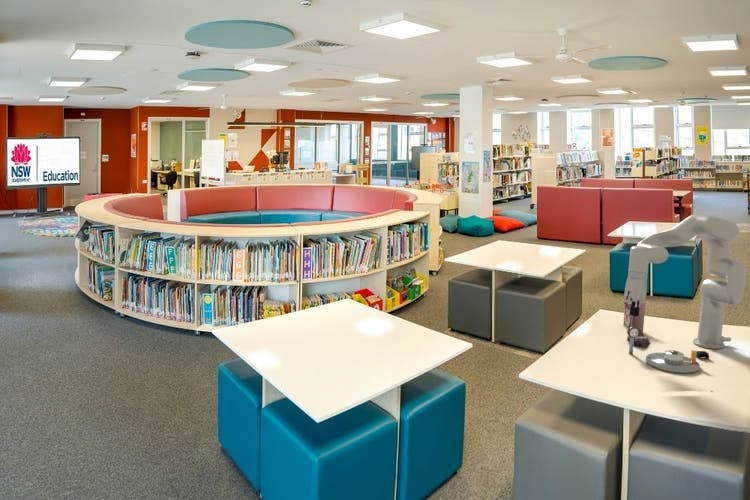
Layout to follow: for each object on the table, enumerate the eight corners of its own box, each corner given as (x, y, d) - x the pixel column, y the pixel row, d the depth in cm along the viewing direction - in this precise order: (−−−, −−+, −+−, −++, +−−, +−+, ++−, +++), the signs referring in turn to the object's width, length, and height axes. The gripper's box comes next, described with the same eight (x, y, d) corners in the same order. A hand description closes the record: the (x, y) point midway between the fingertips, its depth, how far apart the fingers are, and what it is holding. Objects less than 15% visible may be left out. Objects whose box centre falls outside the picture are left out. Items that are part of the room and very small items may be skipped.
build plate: (690, 364, 235) (691, 354, 235) (682, 358, 242) (683, 348, 242) (720, 365, 234) (722, 355, 234) (711, 359, 242) (712, 349, 241)
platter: (639, 354, 242) (641, 340, 241) (688, 357, 239) (690, 343, 237) (654, 372, 223) (655, 356, 221) (707, 375, 219) (709, 360, 218)
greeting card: (621, 325, 287) (623, 298, 284) (636, 326, 286) (638, 298, 283) (629, 332, 275) (631, 304, 273) (644, 333, 275) (647, 304, 272)
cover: (661, 358, 233) (662, 348, 232) (679, 359, 232) (680, 349, 231) (666, 364, 226) (668, 353, 226) (685, 366, 225) (686, 355, 224)
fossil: (654, 350, 250) (644, 331, 249) (634, 357, 253) (624, 338, 252) (649, 341, 260) (640, 323, 259) (630, 348, 263) (621, 330, 262)
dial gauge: (639, 354, 246) (642, 324, 244) (647, 358, 240) (650, 328, 238) (620, 354, 246) (623, 324, 243) (627, 359, 240) (630, 329, 237)
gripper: (639, 271, 244) (635, 310, 247) (619, 275, 235) (616, 316, 239) (655, 274, 237) (651, 314, 241) (635, 278, 229) (632, 320, 232)
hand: (634, 315), depth 240 cm, fingers closed
